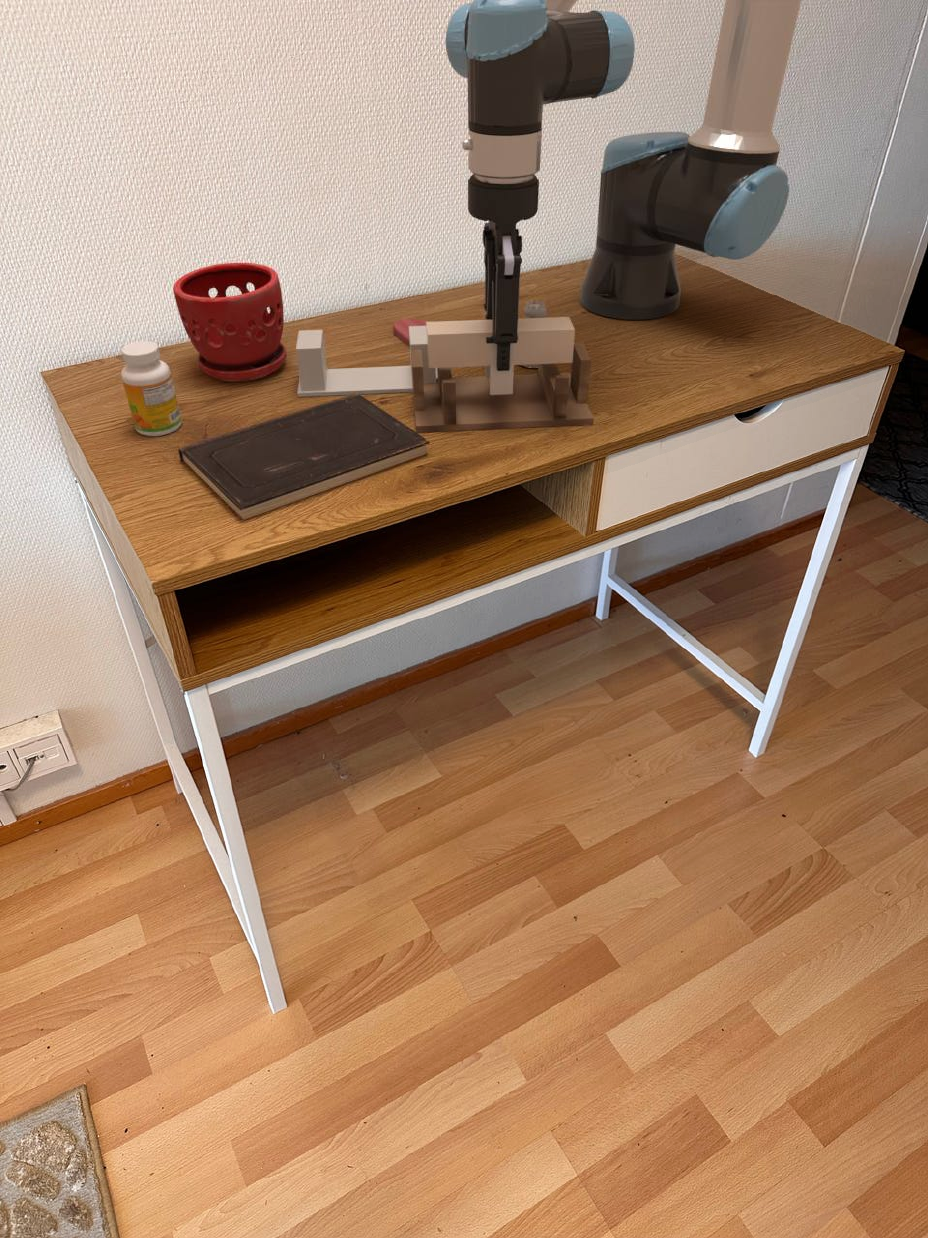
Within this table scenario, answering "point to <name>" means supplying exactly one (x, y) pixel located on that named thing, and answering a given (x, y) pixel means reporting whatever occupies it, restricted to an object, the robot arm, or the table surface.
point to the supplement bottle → (149, 390)
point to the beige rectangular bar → (468, 337)
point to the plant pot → (233, 320)
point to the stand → (355, 369)
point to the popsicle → (406, 328)
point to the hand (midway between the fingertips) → (498, 384)
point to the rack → (503, 398)
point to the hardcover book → (302, 454)
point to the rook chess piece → (534, 316)
